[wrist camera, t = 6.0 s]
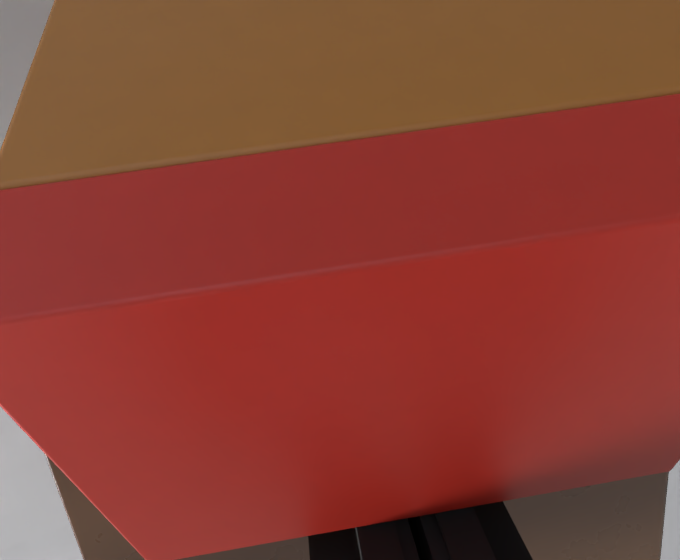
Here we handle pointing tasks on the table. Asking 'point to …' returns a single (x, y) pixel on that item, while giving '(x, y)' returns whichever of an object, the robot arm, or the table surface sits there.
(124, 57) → the container
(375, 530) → the robot arm
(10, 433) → the table surface
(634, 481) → the walnut box
